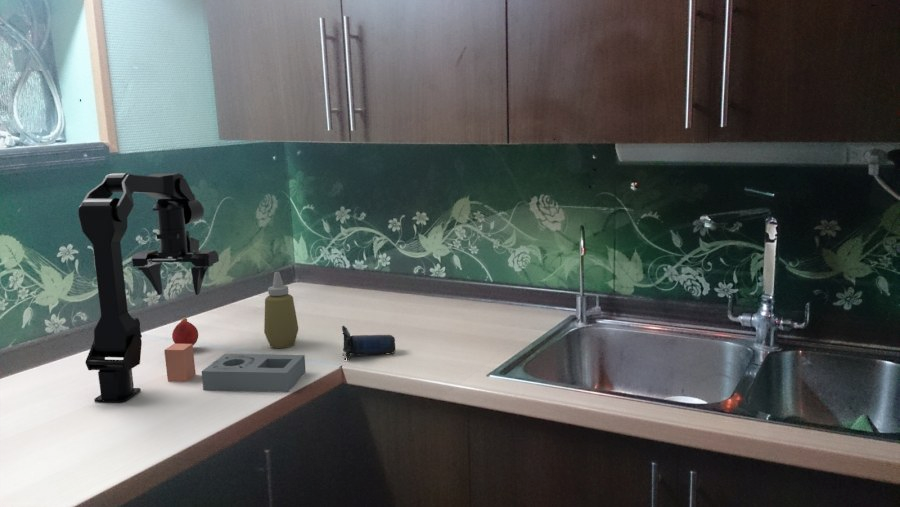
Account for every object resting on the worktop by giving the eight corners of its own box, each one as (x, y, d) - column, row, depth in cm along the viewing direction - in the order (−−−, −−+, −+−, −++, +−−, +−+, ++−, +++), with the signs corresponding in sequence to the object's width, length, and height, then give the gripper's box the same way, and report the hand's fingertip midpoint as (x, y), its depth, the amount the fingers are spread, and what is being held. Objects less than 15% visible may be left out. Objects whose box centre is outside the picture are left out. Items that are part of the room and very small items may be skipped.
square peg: (186, 381, 158) (183, 350, 157) (167, 381, 159) (164, 349, 158) (195, 374, 162) (192, 343, 161) (177, 374, 163) (174, 343, 162)
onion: (191, 354, 176) (188, 322, 174) (169, 354, 177) (165, 321, 176) (204, 347, 182) (200, 315, 180) (182, 346, 183) (179, 314, 181)
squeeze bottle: (258, 348, 179) (252, 274, 176) (280, 338, 186) (275, 267, 183) (284, 352, 176) (278, 277, 172) (306, 342, 183) (301, 270, 179)
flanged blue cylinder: (344, 368, 168) (397, 365, 171) (344, 337, 165) (398, 334, 168) (339, 349, 176) (390, 346, 179) (340, 319, 173) (391, 316, 176)
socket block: (288, 391, 151) (286, 372, 150) (203, 389, 153) (201, 371, 152) (305, 372, 161) (304, 354, 161) (226, 371, 164) (224, 353, 163)
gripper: (225, 222, 179) (231, 286, 181) (152, 223, 181) (158, 286, 184) (204, 229, 168) (210, 297, 171) (126, 230, 170) (134, 297, 173)
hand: (178, 294), depth 175 cm, fingers open, 9 cm apart
